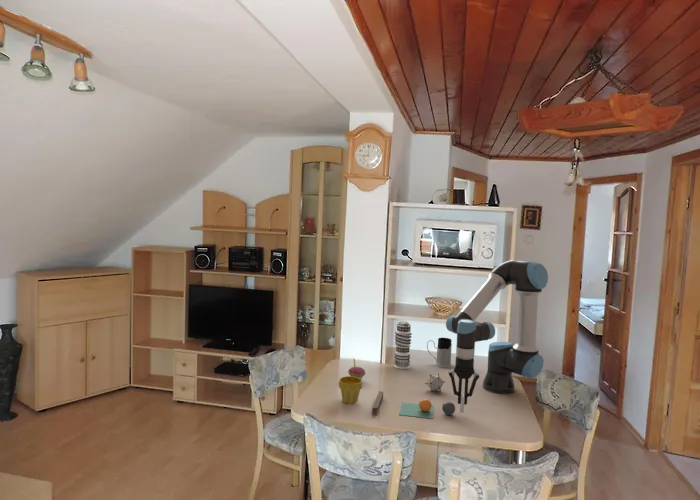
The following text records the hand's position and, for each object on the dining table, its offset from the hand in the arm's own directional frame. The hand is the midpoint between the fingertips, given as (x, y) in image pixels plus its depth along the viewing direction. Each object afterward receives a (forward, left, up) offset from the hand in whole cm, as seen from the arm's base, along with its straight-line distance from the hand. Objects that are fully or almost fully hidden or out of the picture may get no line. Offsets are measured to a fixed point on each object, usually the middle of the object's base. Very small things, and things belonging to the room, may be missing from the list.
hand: (461, 411), depth 208 cm
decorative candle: (+31, -60, -2) cm, 68 cm away
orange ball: (+15, 0, +1) cm, 16 cm away
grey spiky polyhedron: (+12, -27, -2) cm, 30 cm away
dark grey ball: (+5, 0, +1) cm, 6 cm away
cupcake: (+51, -29, -2) cm, 59 cm away
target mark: (+19, 0, -2) cm, 19 cm away
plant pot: (+49, -2, -2) cm, 49 cm away
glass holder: (+11, -70, -2) cm, 71 cm away
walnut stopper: (+36, 0, -2) cm, 36 cm away
